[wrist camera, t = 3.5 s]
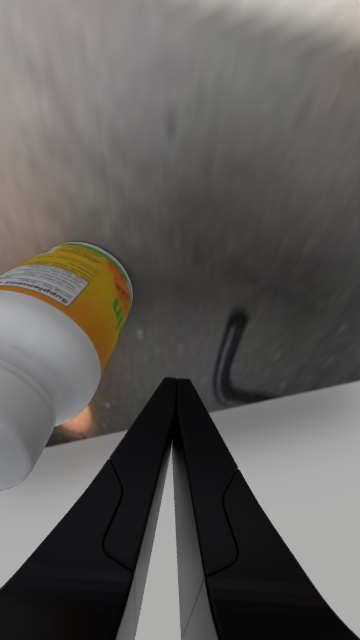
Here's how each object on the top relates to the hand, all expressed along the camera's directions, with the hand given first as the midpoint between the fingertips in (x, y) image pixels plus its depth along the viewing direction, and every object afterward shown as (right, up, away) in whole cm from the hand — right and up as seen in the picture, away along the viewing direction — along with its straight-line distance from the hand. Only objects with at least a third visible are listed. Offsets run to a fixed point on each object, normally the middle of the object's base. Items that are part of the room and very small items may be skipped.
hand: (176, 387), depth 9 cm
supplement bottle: (-5, +4, +6) cm, 9 cm away
